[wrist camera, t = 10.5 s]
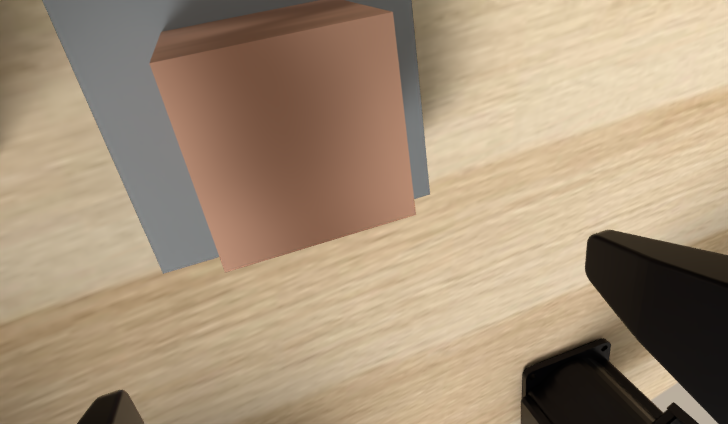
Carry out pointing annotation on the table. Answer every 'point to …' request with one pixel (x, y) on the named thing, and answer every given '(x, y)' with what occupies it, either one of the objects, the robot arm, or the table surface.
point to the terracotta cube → (289, 125)
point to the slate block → (149, 116)
